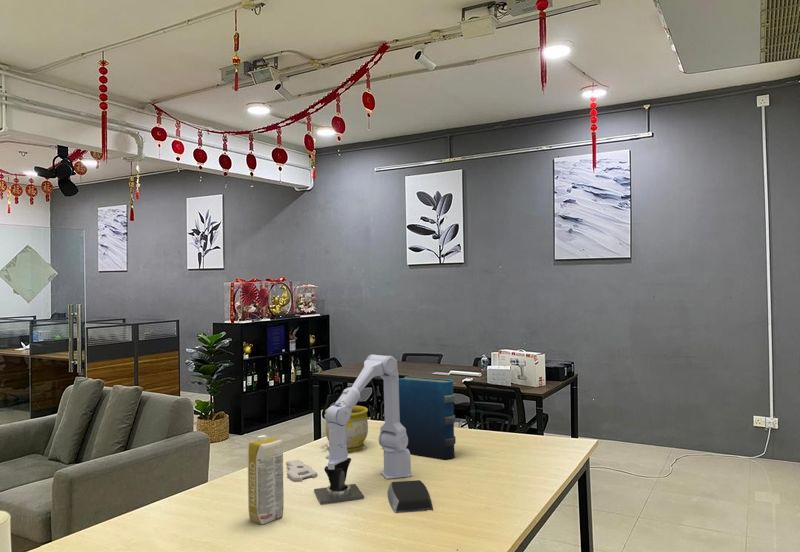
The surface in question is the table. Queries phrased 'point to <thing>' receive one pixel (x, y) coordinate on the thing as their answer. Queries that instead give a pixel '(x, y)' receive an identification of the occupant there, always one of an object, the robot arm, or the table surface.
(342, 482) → the blue-grey cylinder
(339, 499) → the metal base plate
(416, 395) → the book
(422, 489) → the external hard drive
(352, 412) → the flowerpot
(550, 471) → the table surface
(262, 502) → the juice carton
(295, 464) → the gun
